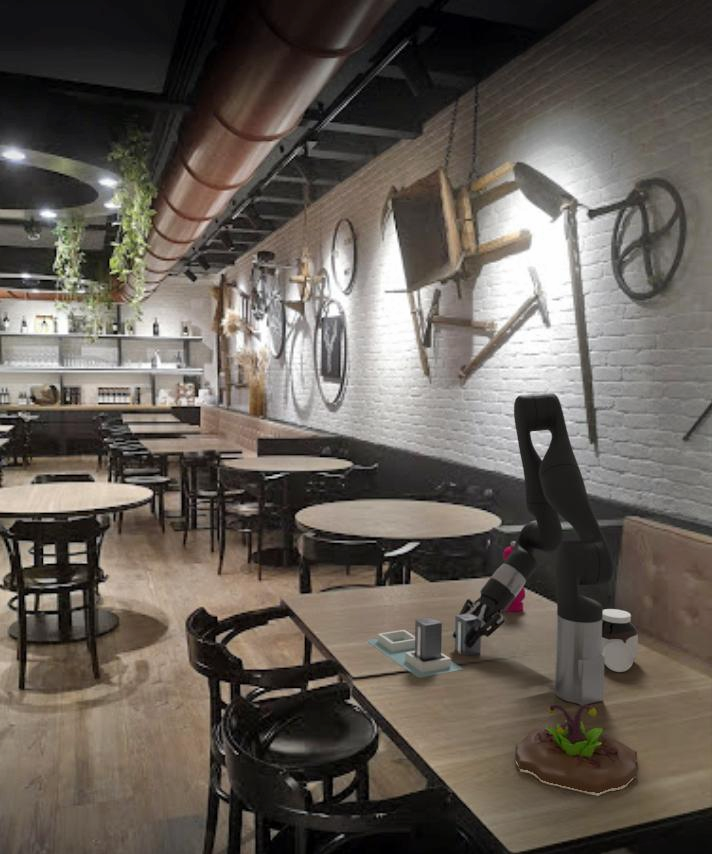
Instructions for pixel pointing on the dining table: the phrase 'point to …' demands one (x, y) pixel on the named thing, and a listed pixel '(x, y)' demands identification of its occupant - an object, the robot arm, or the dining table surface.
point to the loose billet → (466, 634)
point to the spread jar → (618, 640)
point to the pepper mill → (517, 602)
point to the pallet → (411, 654)
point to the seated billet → (428, 639)
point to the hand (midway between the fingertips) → (461, 641)
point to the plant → (576, 755)
